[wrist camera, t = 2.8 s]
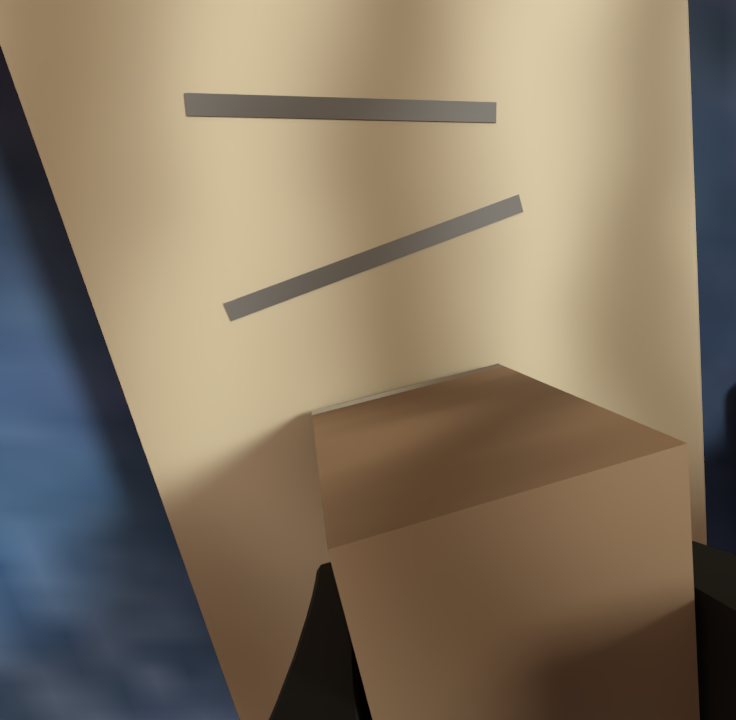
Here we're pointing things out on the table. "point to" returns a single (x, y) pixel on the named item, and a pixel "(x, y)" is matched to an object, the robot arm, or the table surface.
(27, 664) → the table surface
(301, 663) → the robot arm
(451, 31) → the board
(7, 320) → the table surface
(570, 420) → the block
